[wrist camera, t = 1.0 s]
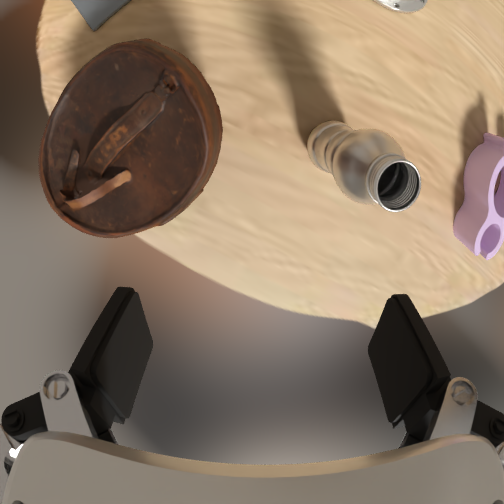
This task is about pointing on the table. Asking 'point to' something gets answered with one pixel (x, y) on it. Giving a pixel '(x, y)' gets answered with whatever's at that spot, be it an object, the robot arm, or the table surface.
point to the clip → (483, 199)
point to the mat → (98, 10)
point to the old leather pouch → (130, 140)
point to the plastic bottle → (365, 165)
